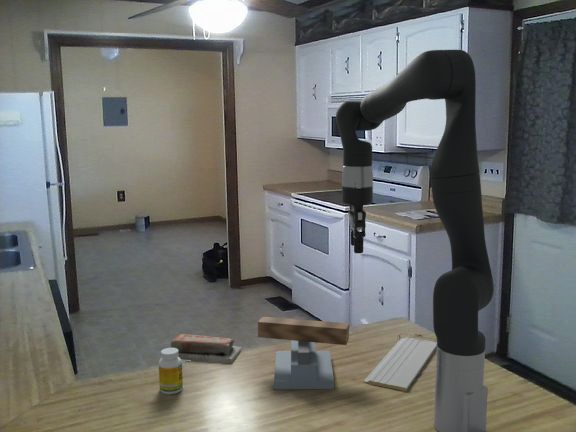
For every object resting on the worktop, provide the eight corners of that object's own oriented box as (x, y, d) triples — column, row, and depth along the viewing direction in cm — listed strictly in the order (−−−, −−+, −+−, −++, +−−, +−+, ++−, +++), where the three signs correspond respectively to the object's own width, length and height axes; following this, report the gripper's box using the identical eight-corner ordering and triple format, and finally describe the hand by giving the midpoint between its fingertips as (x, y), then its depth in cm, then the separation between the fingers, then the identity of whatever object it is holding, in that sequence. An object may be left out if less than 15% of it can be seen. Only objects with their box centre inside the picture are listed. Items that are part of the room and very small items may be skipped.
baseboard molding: (357, 383, 141) (406, 394, 136) (357, 372, 141) (406, 382, 135) (396, 340, 169) (438, 347, 163) (396, 330, 168) (438, 337, 163)
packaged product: (166, 342, 155) (180, 329, 165) (166, 359, 156) (181, 346, 166) (231, 347, 151) (242, 333, 161) (231, 365, 152) (242, 350, 162)
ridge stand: (329, 358, 155) (329, 325, 154) (334, 389, 137) (334, 352, 136) (276, 358, 155) (276, 325, 154) (273, 389, 137) (273, 352, 136)
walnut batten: (348, 339, 144) (349, 323, 143) (346, 345, 140) (346, 329, 139) (262, 331, 149) (262, 316, 149) (258, 337, 146) (257, 321, 145)
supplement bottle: (160, 385, 140) (158, 347, 138) (182, 383, 141) (181, 345, 139) (159, 395, 135) (157, 356, 133) (183, 393, 136) (181, 354, 134)
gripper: (339, 181, 151) (339, 243, 154) (344, 187, 137) (343, 255, 140) (369, 181, 151) (368, 243, 154) (376, 187, 137) (375, 255, 139)
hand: (356, 249), depth 147 cm, fingers open, 8 cm apart
